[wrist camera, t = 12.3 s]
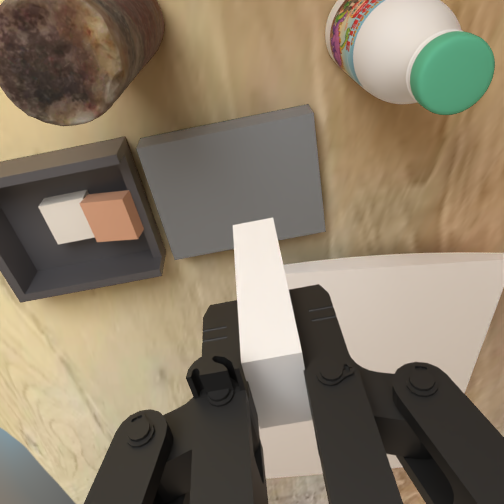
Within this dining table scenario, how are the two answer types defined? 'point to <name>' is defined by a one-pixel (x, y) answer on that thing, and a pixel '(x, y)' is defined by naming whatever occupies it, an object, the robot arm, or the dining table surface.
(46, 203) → the tile white
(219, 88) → the dining table surface
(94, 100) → the candle
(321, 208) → the slate board
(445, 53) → the milk bottle
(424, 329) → the board
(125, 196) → the tile terracotta
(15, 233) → the box
